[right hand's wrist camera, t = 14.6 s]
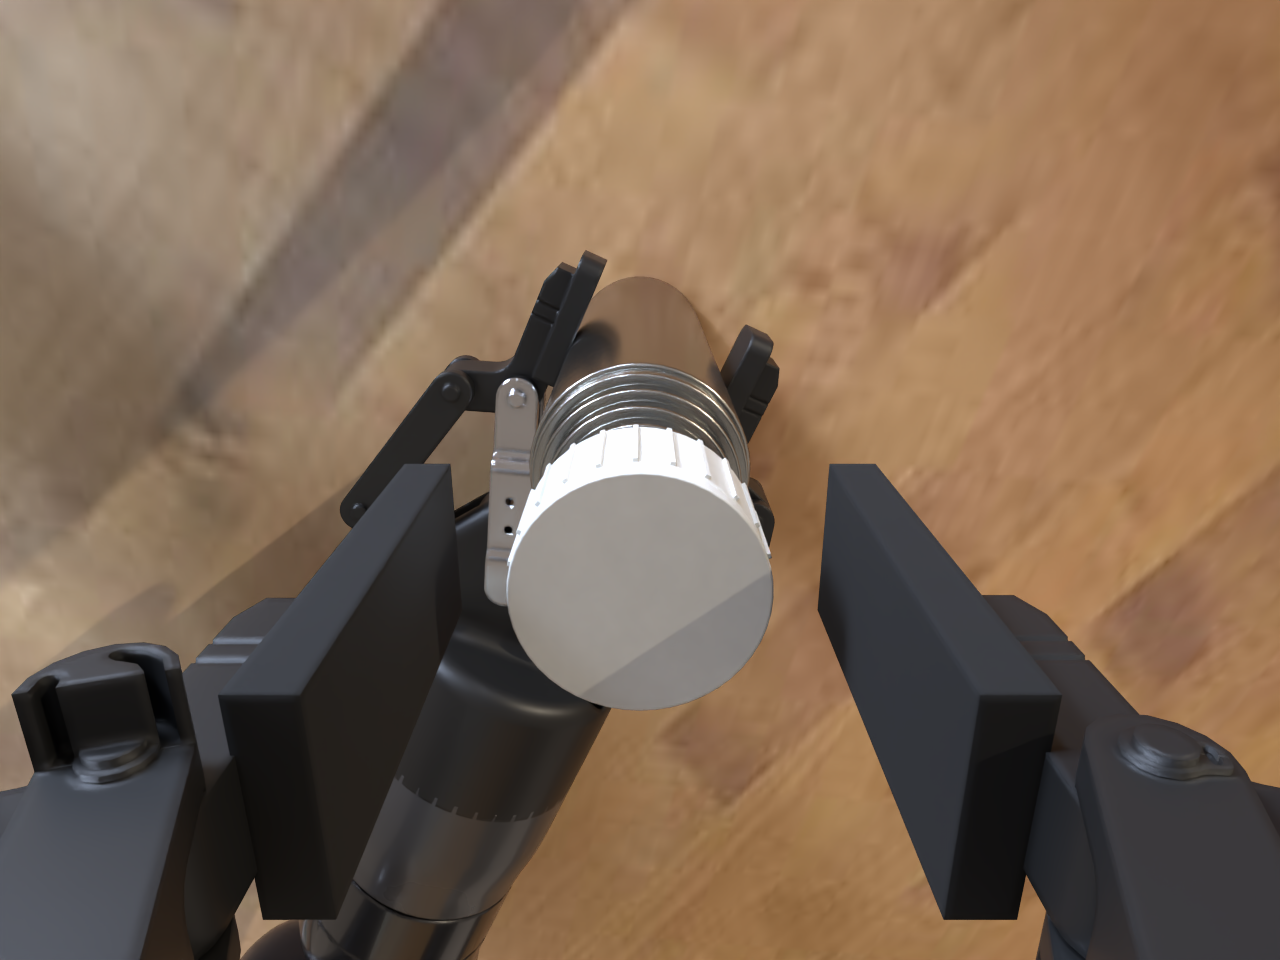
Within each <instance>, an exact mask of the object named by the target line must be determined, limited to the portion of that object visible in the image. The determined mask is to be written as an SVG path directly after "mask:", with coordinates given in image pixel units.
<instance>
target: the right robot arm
mask: <svg viewBox="0 0 1280 960" xmlns="http://www.w3.org/2000/svg"><path fill="white" fill-rule="evenodd" d="M461 612H462V600H461V588H460V576H459V563H458V551H457V539H456V527H455V514H454V502H453V490H452V478H451V465H450V464H404V465H403V467H402V468H401V469H400V470H399V471H398V473H397V474H396V475H395V476H394V478H393V479H392V480H391V481H390V483H389V484H388V485H387V486H386V488H385V489H384V490H383V491H382V493H381V494H380V495H379V496H378V497H377V499H376V500H375V501H374V502H373V504H372V505H371V506H370V507H369V509H368V510H367V511H366V512H365V514H364V515H363V516H362V517H361V518H360V520H359V521H358V522H357V523H356V525H355V526H354V527H353V528H352V530H351V531H350V532H349V533H348V535H347V536H346V537H345V538H344V539H343V541H342V542H341V543H340V544H339V546H338V547H337V548H336V549H335V551H334V552H333V553H332V554H331V556H330V557H329V558H328V559H327V560H326V562H325V563H324V564H323V565H322V567H321V568H320V569H319V570H318V572H317V573H316V574H315V575H314V577H313V578H312V579H311V580H310V581H309V583H308V584H307V585H306V586H305V588H304V589H303V590H302V591H301V593H300V594H299V595H298V596H297V598H266V599H264V600H262V601H261V602H259V603H257V604H256V605H254V606H252V607H250V608H249V609H247V610H245V611H243V612H242V613H240V614H238V615H237V616H235V617H233V618H232V620H231V621H230V622H229V623H228V624H227V625H226V626H225V627H224V628H223V629H222V630H221V632H220V633H219V634H218V635H217V636H216V637H215V638H214V639H213V644H209V645H208V646H207V647H206V648H205V649H204V650H203V651H202V652H201V653H200V654H199V656H198V657H197V658H196V663H191V664H190V665H189V667H188V668H187V669H186V670H185V671H184V672H183V673H182V670H181V666H180V661H179V656H178V655H177V654H176V653H175V652H173V651H172V650H170V649H169V648H167V647H166V646H161V645H156V644H150V643H144V642H143V643H127V644H114V645H110V646H105V647H101V648H96V649H92V650H87V651H83V652H81V653H78V654H75V655H73V656H70V657H68V658H65V659H62V660H60V661H57V662H55V663H52V664H51V665H49V666H47V667H46V668H44V669H42V670H41V671H39V672H37V673H35V674H34V675H32V676H30V677H29V678H27V679H26V680H25V681H24V682H23V683H22V684H21V685H20V686H19V687H18V688H17V689H16V690H15V691H14V692H13V693H12V694H11V695H12V698H13V702H14V705H15V708H16V712H17V715H18V718H19V721H20V725H21V728H22V731H23V735H24V738H25V741H26V745H27V748H28V751H29V755H30V758H31V761H32V765H33V768H34V771H35V773H34V774H33V776H32V778H31V780H30V782H29V784H28V786H25V787H21V788H17V789H12V790H7V791H2V792H0V960H240V953H241V948H240V941H239V934H238V929H237V924H236V919H235V915H234V914H235V912H236V910H237V909H238V907H239V905H240V903H241V901H242V899H243V898H244V896H245V894H246V892H247V890H248V888H249V887H250V885H251V883H252V881H253V879H254V877H255V882H256V887H257V892H258V897H259V902H260V907H261V912H262V917H263V920H336V919H337V917H338V914H339V912H340V909H341V907H342V905H343V902H344V900H345V897H346V895H347V892H348V890H349V887H350V885H351V882H352V880H353V877H354V875H355V873H356V870H357V868H358V865H359V863H360V860H361V858H362V855H363V853H364V850H365V848H366V845H367V843H368V841H369V838H370V836H371V833H372V831H373V828H374V826H375V823H376V821H377V818H378V816H379V814H380V811H381V809H382V806H383V804H384V801H385V799H386V796H387V794H388V791H389V789H390V786H391V784H392V782H393V779H394V777H395V774H396V772H397V769H398V767H399V764H400V762H401V759H402V757H403V755H404V752H405V750H406V747H407V745H408V742H409V740H410V737H411V735H412V732H413V730H414V727H415V725H416V723H417V720H418V718H419V715H420V713H421V710H422V708H423V705H424V703H425V700H426V698H427V696H428V693H429V691H430V688H431V686H432V683H433V681H434V678H435V676H436V673H437V671H438V668H439V666H440V664H441V661H442V659H443V656H444V654H445V651H446V649H447V646H448V644H449V641H450V639H451V636H452V634H453V632H454V629H455V627H456V624H457V622H458V619H459V617H460V614H461ZM818 612H819V614H820V617H821V619H822V622H823V624H824V627H825V629H826V632H827V634H828V636H829V639H830V641H831V644H832V646H833V649H834V651H835V654H836V656H837V659H838V661H839V664H840V666H841V668H842V671H843V673H844V676H845V678H846V681H847V683H848V686H849V688H850V691H851V693H852V696H853V698H854V700H855V703H856V705H857V708H858V710H859V713H860V715H861V718H862V720H863V723H864V725H865V727H866V730H867V732H868V735H869V737H870V740H871V742H872V745H873V747H874V750H875V752H876V755H877V757H878V759H879V762H880V764H881V767H882V769H883V772H884V774H885V777H886V779H887V782H888V784H889V786H890V789H891V791H892V794H893V796H894V799H895V801H896V804H897V806H898V809H899V811H900V814H901V816H902V818H903V821H904V823H905V826H906V828H907V831H908V833H909V836H910V838H911V841H912V843H913V846H914V848H915V850H916V853H917V855H918V858H919V860H920V863H921V865H922V868H923V870H924V873H925V875H926V877H927V880H928V882H929V885H930V887H931V890H932V892H933V895H934V897H935V900H936V902H937V905H938V907H939V909H940V912H941V914H942V917H943V919H944V920H1017V917H1018V912H1019V907H1020V902H1021V897H1022V892H1023V887H1024V882H1025V877H1026V875H1027V877H1028V879H1029V880H1030V882H1031V884H1032V886H1033V888H1034V890H1035V891H1036V893H1037V895H1038V897H1039V899H1040V900H1041V902H1042V904H1043V906H1044V908H1045V910H1046V915H1045V919H1044V924H1043V929H1042V933H1041V938H1040V942H1039V947H1038V952H1037V956H1036V960H1280V788H1278V787H1273V786H1268V785H1263V784H1259V783H1255V782H1251V781H1250V779H1249V777H1248V775H1247V773H1246V771H1245V770H1244V769H1243V767H1242V766H1241V765H1240V764H1239V763H1238V761H1237V760H1236V759H1235V758H1234V756H1233V755H1232V754H1231V753H1230V752H1229V751H1227V750H1226V749H1224V748H1223V747H1221V746H1220V745H1218V744H1217V743H1216V742H1214V741H1213V740H1211V739H1210V738H1208V737H1207V736H1205V735H1203V734H1200V733H1198V732H1196V731H1194V730H1191V729H1189V728H1187V727H1185V726H1183V725H1180V724H1178V723H1175V722H1171V721H1167V720H1163V719H1159V718H1156V717H1152V716H1148V715H1139V714H1138V713H1137V711H1136V710H1135V709H1134V708H1133V707H1132V706H1131V705H1130V704H1129V703H1128V702H1127V701H1126V700H1125V698H1124V697H1123V696H1122V695H1121V694H1120V693H1119V692H1118V691H1117V690H1116V689H1115V688H1114V687H1113V685H1112V684H1111V683H1110V682H1109V681H1108V680H1107V679H1106V678H1105V677H1104V676H1103V675H1102V674H1101V672H1100V671H1099V670H1098V669H1097V668H1096V667H1095V666H1094V665H1093V664H1092V663H1091V662H1090V661H1089V660H1085V655H1084V654H1083V653H1082V652H1081V651H1080V650H1079V649H1078V648H1077V646H1076V645H1075V644H1074V643H1073V642H1072V641H1068V639H1067V638H1068V637H1067V636H1066V634H1065V633H1064V632H1063V631H1062V630H1061V629H1060V628H1059V627H1058V626H1057V625H1056V624H1055V623H1054V621H1053V620H1052V619H1051V618H1050V617H1049V616H1048V615H1047V614H1045V613H1044V612H1042V611H1040V610H1038V609H1037V608H1035V607H1033V606H1032V605H1030V604H1028V603H1026V602H1025V601H1023V600H1021V599H1019V598H1018V597H1016V596H1014V595H981V594H980V593H979V591H978V590H977V589H976V588H975V586H974V585H973V584H972V583H971V581H970V580H969V579H968V578H967V577H966V575H965V574H964V573H963V572H962V570H961V569H960V568H959V567H958V565H957V564H956V563H955V562H954V560H953V559H952V558H951V557H950V556H949V554H948V553H947V552H946V551H945V549H944V548H943V547H942V546H941V544H940V543H939V542H938V541H937V539H936V538H935V537H934V536H933V535H932V533H931V532H930V531H929V530H928V528H927V527H926V526H925V525H924V523H923V522H922V521H921V520H920V518H919V517H918V516H917V515H916V514H915V512H914V511H913V510H912V509H911V507H910V506H909V505H908V504H907V502H906V501H905V500H904V499H903V497H902V496H901V495H900V494H899V493H898V491H897V490H896V489H895V488H894V486H893V485H892V484H891V483H890V481H889V480H888V479H887V478H886V476H885V475H884V474H883V473H882V471H881V470H880V469H879V468H878V467H877V465H876V464H830V465H829V478H828V490H827V502H826V514H825V527H824V539H823V551H822V563H821V576H820V588H819V600H818Z"/></svg>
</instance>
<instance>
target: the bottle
mask: <svg viewBox="0 0 1280 960" xmlns="http://www.w3.org/2000/svg"><path fill="white" fill-rule="evenodd" d="M633 425H639V427H647V428H658V429H663V430H667V428H671V429H672V432H676V433H679V434H682V435H685V436H687V437H689V438H691V439H693V440H695V441H697V440H698V439H700V440H702V441H703V444H704V446H706V447H707V448H709V449H710V450H712V451H713V452H714V453H716V454H717V455H718V456H719V457H720V458H721V459H724V458H726V459H727V460H728V462H729V465H730V468H731V469H732V470H733V472H734V473H735V474H736V476H737V478H738V479H739V481H740V482H741V484H742V483H744V482H745V484H746V486H747V488H748V485H749V480H750V455H749V448H748V444H747V440H746V436H745V434H744V431H743V428H742V426H741V423H740V421H739V418H738V416H737V413H736V411H735V408H734V406H733V403H732V401H731V399H730V396H729V394H728V391H727V389H726V386H725V384H724V381H723V379H722V376H721V374H720V371H719V369H718V366H717V364H716V361H715V359H714V356H713V354H712V351H711V349H710V346H709V344H708V342H707V339H706V337H705V334H704V332H703V329H702V327H701V324H700V322H699V319H698V317H697V314H696V312H695V310H694V308H693V306H692V305H691V303H690V302H689V301H688V299H687V298H686V297H685V296H684V295H683V294H682V293H681V292H680V291H679V290H677V289H676V288H675V287H673V286H672V285H670V284H668V283H666V282H664V281H661V280H659V279H655V278H650V277H629V278H625V279H621V280H618V281H616V282H613V283H611V284H610V285H608V286H606V287H605V288H603V289H602V290H601V291H599V292H598V293H597V294H596V295H595V296H594V297H593V299H592V300H591V301H590V303H589V305H588V308H587V310H586V312H585V315H584V317H583V319H582V322H581V324H580V326H579V329H578V331H577V334H576V336H575V338H574V341H573V343H572V345H571V348H570V350H569V352H568V353H567V356H566V358H565V361H564V363H563V366H562V368H561V370H560V373H559V375H558V378H557V380H556V383H555V385H554V388H553V390H552V393H551V395H550V398H549V400H548V403H547V405H546V408H545V410H544V413H543V415H542V418H541V420H540V423H539V425H538V428H537V430H536V433H535V435H534V439H533V443H532V447H531V452H530V462H529V467H530V481H531V486H532V489H533V490H535V489H536V487H537V485H538V483H539V482H540V480H541V479H542V477H543V476H544V473H545V470H546V466H547V465H548V464H549V463H550V464H551V465H553V463H554V462H555V461H556V460H557V459H558V458H560V457H561V456H562V455H563V454H564V453H565V452H567V451H568V450H569V449H570V445H571V444H573V443H575V444H576V445H577V444H579V443H580V442H582V441H584V440H586V439H589V438H591V437H593V436H595V435H598V434H600V431H601V430H605V431H606V432H607V431H611V430H617V429H622V428H633Z"/></svg>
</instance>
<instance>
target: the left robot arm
mask: <svg viewBox="0 0 1280 960" xmlns="http://www.w3.org/2000/svg"><path fill="white" fill-rule="evenodd" d="M606 262H607V260H606V259H604V258H602V257H600V256H597V255H595V254H593V253H591V252H589V251H585V252H584V253H583V255H582V257H581V260H580V262H579V264H578V267H577V269H576V268H574V267H572V266H570V265H568V264H565V263H563V262H562V263H561V264H560V265H559V266H558V267H557V268H556V269H555V270H554V271H553V272H552V273H551V274H550V275H549V276H548V277H547V279H546V280H545V281H544V283H543V286H542V288H541V291H540V293H539V296H538V298H537V301H536V303H535V306H534V308H533V311H532V313H531V316H530V318H529V321H528V323H527V326H526V328H525V331H524V333H523V336H522V338H521V341H520V343H519V346H518V348H517V351H516V353H515V356H513V357H512V358H510V359H508V360H506V361H502V362H490V361H479V360H478V359H477V358H475V357H473V356H469V355H463V356H459V357H457V358H455V359H454V360H453V361H452V362H451V363H450V364H449V365H448V367H447V368H446V369H445V371H443V372H442V373H440V374H439V375H438V376H437V377H436V378H435V379H434V380H433V382H432V383H431V384H430V386H429V387H428V388H427V390H426V391H425V392H424V394H423V395H422V396H421V398H420V399H419V400H418V402H417V403H416V404H415V406H414V407H413V408H412V410H411V411H410V412H409V414H408V415H407V416H406V418H405V419H404V420H403V422H402V423H401V424H400V425H399V427H398V428H397V429H396V431H395V432H394V433H393V435H392V436H391V437H390V439H389V440H388V441H387V443H386V444H385V445H384V447H383V448H382V449H381V451H380V452H379V453H378V455H377V456H376V457H375V459H374V460H373V461H372V463H371V464H370V465H369V467H368V468H367V469H366V471H365V472H364V473H363V475H362V476H361V477H360V478H359V480H358V481H357V482H356V484H355V485H354V486H353V488H352V489H351V490H350V492H349V493H348V494H347V496H346V497H345V498H344V500H343V501H342V503H341V506H340V514H341V517H342V519H343V521H344V522H345V523H346V524H347V525H348V526H350V527H351V528H353V527H354V526H355V525H356V523H357V522H358V521H359V520H360V518H361V517H362V516H363V515H364V514H365V512H366V511H367V510H368V509H369V507H370V506H371V505H372V504H373V502H374V501H375V500H376V499H377V497H378V496H379V495H380V494H381V493H382V491H383V490H384V489H385V488H386V486H387V485H388V484H389V483H390V481H391V480H392V479H393V478H394V476H395V475H396V474H397V473H398V471H399V470H400V469H401V468H402V467H403V465H404V464H424V462H425V461H426V460H427V458H428V457H429V456H430V455H431V453H432V452H433V451H434V449H435V448H436V447H437V446H438V444H439V443H440V442H441V440H442V439H443V438H444V437H445V435H446V434H447V433H448V431H449V430H450V429H451V428H452V426H453V425H454V424H455V422H456V421H457V420H458V419H459V417H460V416H461V415H462V413H463V412H464V411H479V412H493V413H495V433H494V451H493V457H492V462H491V470H490V490H489V492H487V493H485V494H483V495H482V496H480V497H478V498H476V499H474V500H473V501H471V502H469V503H467V504H465V505H464V506H462V507H460V508H458V509H456V510H455V511H454V514H455V527H456V539H457V551H458V563H459V576H460V588H461V600H462V612H461V614H460V617H459V619H458V622H457V624H456V627H455V629H454V632H453V634H452V636H451V639H450V641H449V644H448V646H447V649H446V651H445V654H444V656H443V659H442V661H441V664H440V666H439V668H438V671H437V673H436V676H435V678H434V681H433V683H432V686H431V688H430V691H429V693H428V696H427V698H426V700H425V703H424V705H423V708H422V710H421V713H420V715H419V718H418V720H417V723H416V725H415V727H414V730H413V732H412V735H411V737H410V740H409V742H408V745H407V747H406V750H405V752H404V755H403V757H402V759H401V762H400V764H399V767H398V769H397V772H396V774H395V777H394V779H393V782H392V784H391V786H390V789H389V791H388V794H387V796H386V799H385V801H384V804H383V806H382V809H381V811H380V814H379V816H378V818H377V821H376V823H375V826H374V828H373V831H372V833H371V836H370V838H369V841H368V843H367V845H366V848H365V850H364V853H363V855H362V858H361V860H360V863H359V865H358V868H357V870H356V873H355V875H354V877H353V880H352V882H351V885H350V887H349V890H348V892H347V895H346V897H345V900H344V902H343V905H342V907H341V909H340V912H339V914H338V917H337V919H336V920H288V921H286V922H284V923H282V924H280V925H278V926H276V927H274V928H273V929H271V930H270V931H268V932H267V933H266V934H264V935H263V936H262V937H261V938H260V939H258V940H257V941H256V942H255V943H254V944H253V945H252V946H251V947H250V948H249V949H248V950H247V951H246V953H245V954H244V955H243V956H242V958H241V959H240V960H477V959H478V953H479V949H480V947H481V945H482V943H483V941H484V939H485V937H486V935H487V933H488V931H489V929H490V927H491V925H492V923H493V921H494V919H495V917H496V916H497V914H498V912H499V910H500V908H501V906H502V904H503V902H504V900H505V898H506V896H507V894H508V892H509V890H510V888H511V886H512V884H513V882H514V881H515V879H516V878H517V876H518V875H519V874H520V872H521V871H522V870H523V868H524V867H525V866H526V864H527V863H528V862H529V861H530V859H531V858H532V856H533V855H534V854H535V852H536V851H537V849H538V847H539V845H540V844H541V842H542V840H543V839H544V837H545V835H546V833H547V831H548V830H549V828H550V826H551V824H552V822H553V820H554V818H555V816H556V814H557V812H558V810H559V808H560V806H561V805H562V803H563V801H564V799H565V797H566V795H567V793H568V791H569V789H570V787H571V785H572V783H573V781H574V779H575V777H576V775H577V773H578V771H579V770H580V768H581V766H582V764H583V762H584V760H585V758H586V756H587V754H588V752H589V750H590V748H591V747H592V745H593V743H594V741H595V739H596V737H597V735H598V733H599V731H600V729H601V727H602V725H603V723H604V721H605V719H606V718H607V716H608V714H609V712H610V710H611V707H606V706H602V705H599V704H595V703H592V702H589V701H587V700H584V699H582V698H580V697H577V696H575V695H573V694H572V693H570V692H568V691H566V690H564V689H563V688H561V687H560V686H558V685H557V684H556V683H554V682H553V681H552V680H550V679H549V678H548V677H547V676H546V675H545V674H544V673H543V672H542V671H540V670H539V669H538V668H537V666H536V665H535V664H534V663H533V662H532V660H531V659H530V658H529V657H528V655H527V654H526V652H525V651H524V649H523V647H522V646H521V644H520V642H519V640H518V638H517V636H516V634H515V631H514V629H513V627H512V623H511V620H510V616H509V612H508V605H507V597H506V595H507V577H508V570H509V566H507V563H508V559H509V556H510V553H511V550H512V547H513V544H514V541H515V538H516V535H517V534H516V531H517V529H518V526H519V523H520V520H521V517H522V514H523V511H524V508H525V505H526V502H527V499H528V497H529V494H530V491H531V489H532V486H531V481H530V467H529V462H530V452H531V447H532V443H533V439H534V435H535V433H536V430H537V428H538V425H539V423H540V420H541V418H542V415H543V413H544V410H545V399H546V389H547V386H548V385H550V386H552V387H554V385H555V383H556V380H557V378H558V375H559V373H560V370H561V368H562V366H563V363H564V361H565V358H566V356H567V353H568V352H569V350H570V348H571V345H572V343H573V341H574V338H575V336H576V334H577V331H578V329H579V326H580V324H581V322H582V319H583V317H584V315H585V312H586V310H587V308H588V305H589V303H590V300H591V298H592V296H593V293H594V291H595V289H596V286H597V284H598V282H599V279H600V277H601V274H602V272H603V270H604V267H605V265H606ZM772 349H773V341H772V340H771V339H770V337H769V336H768V335H767V334H765V333H763V332H761V331H759V330H757V329H755V328H752V327H750V326H748V325H745V326H744V327H743V329H742V330H741V332H740V334H739V335H738V337H737V339H736V341H735V343H734V346H733V348H732V350H731V352H730V354H729V356H728V358H727V360H726V362H725V364H724V366H723V368H722V370H721V372H720V374H721V376H722V379H723V381H724V384H725V386H726V389H727V391H728V394H729V396H730V399H731V401H732V403H733V406H734V408H735V411H736V413H737V416H738V418H739V421H740V423H741V426H742V428H743V431H744V434H745V436H746V440H747V444H748V443H749V441H750V439H751V437H752V435H753V433H754V431H755V429H756V427H757V425H758V423H759V422H760V420H761V417H762V415H763V414H764V412H765V410H766V408H767V406H768V403H769V402H770V400H771V398H772V396H773V395H774V393H775V391H776V389H777V387H778V378H779V367H778V366H777V364H776V363H775V362H774V360H773V359H772V358H770V355H771V352H772ZM748 491H749V494H750V497H751V500H752V503H753V506H754V509H755V511H756V512H757V515H758V518H759V521H760V524H761V527H762V530H763V533H764V536H765V538H766V541H767V544H768V547H769V546H770V541H771V537H772V533H773V528H774V523H775V522H774V516H773V513H772V511H771V508H770V506H769V503H768V501H767V498H766V496H765V493H764V490H763V488H762V486H761V484H760V483H759V482H758V481H757V480H755V479H753V478H750V480H749V485H748Z"/></svg>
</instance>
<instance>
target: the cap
mask: <svg viewBox="0 0 1280 960" xmlns="http://www.w3.org/2000/svg"><path fill="white" fill-rule="evenodd" d="M516 534H517V535H516V538H515V541H514V544H513V547H512V550H511V553H510V556H509V559H508V563H507V566H509V570H508V577H507V595H506V597H507V605H508V612H509V616H510V620H511V623H512V627H513V629H514V631H515V634H516V636H517V638H518V640H519V642H520V644H521V646H522V647H523V649H524V651H525V652H526V654H527V655H528V657H529V658H530V659H531V660H532V662H533V663H534V664H535V665H536V666H537V668H538V669H539V670H540V671H542V672H543V673H544V674H545V675H546V676H547V677H548V678H549V679H550V680H552V681H553V682H554V683H556V684H557V685H558V686H560V687H561V688H563V689H564V690H566V691H568V692H570V693H572V694H573V695H575V696H577V697H580V698H582V699H584V700H587V701H589V702H592V703H595V704H599V705H602V706H606V707H611V708H616V709H622V710H638V711H641V710H657V709H663V708H669V707H674V706H678V705H681V704H685V703H688V702H691V701H693V700H695V699H698V698H700V697H703V696H705V695H706V694H708V693H710V692H712V691H714V690H715V689H717V688H719V687H720V686H721V685H723V684H724V683H726V682H727V681H728V680H730V679H731V678H732V677H733V676H734V675H735V674H736V673H737V672H738V671H739V670H740V669H742V667H743V666H744V665H745V664H746V663H747V661H748V660H749V659H750V658H751V657H752V655H753V654H754V652H755V650H756V649H757V647H758V645H759V644H760V642H761V640H762V638H763V636H764V633H765V631H766V629H767V626H768V623H769V619H770V616H771V611H772V604H773V577H772V571H771V565H770V562H769V559H770V558H772V557H771V553H770V550H769V547H768V544H767V541H766V538H765V536H764V533H763V530H762V527H761V524H760V521H759V518H758V515H757V512H756V511H755V509H754V506H753V503H752V500H751V497H750V494H749V491H748V488H747V486H746V484H745V482H744V483H742V484H741V482H740V481H739V479H738V478H737V476H736V474H735V473H734V472H733V470H732V469H731V468H730V465H729V462H728V460H727V459H726V458H724V459H721V458H720V457H719V456H718V455H717V454H716V453H714V452H713V451H712V450H710V449H709V448H707V447H706V446H704V444H703V441H702V440H700V439H698V440H697V441H695V440H693V439H691V438H689V437H687V436H685V435H682V434H679V433H676V432H672V429H671V428H667V430H663V429H658V428H647V427H639V425H633V428H622V429H617V430H611V431H607V432H606V431H605V430H601V431H600V434H598V435H595V436H593V437H591V438H589V439H586V440H584V441H582V442H580V443H579V444H577V445H576V444H575V443H573V444H571V445H570V449H569V450H568V451H567V452H565V453H564V454H563V455H562V456H561V457H560V458H558V459H557V460H556V461H555V462H554V463H553V465H551V464H550V463H549V464H548V465H547V466H546V470H545V473H544V476H543V477H542V479H541V480H540V482H539V483H538V485H537V487H536V489H535V490H533V489H531V491H530V494H529V497H528V499H527V502H526V505H525V508H524V511H523V514H522V517H521V520H520V523H519V526H518V529H517V531H516Z"/></svg>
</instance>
